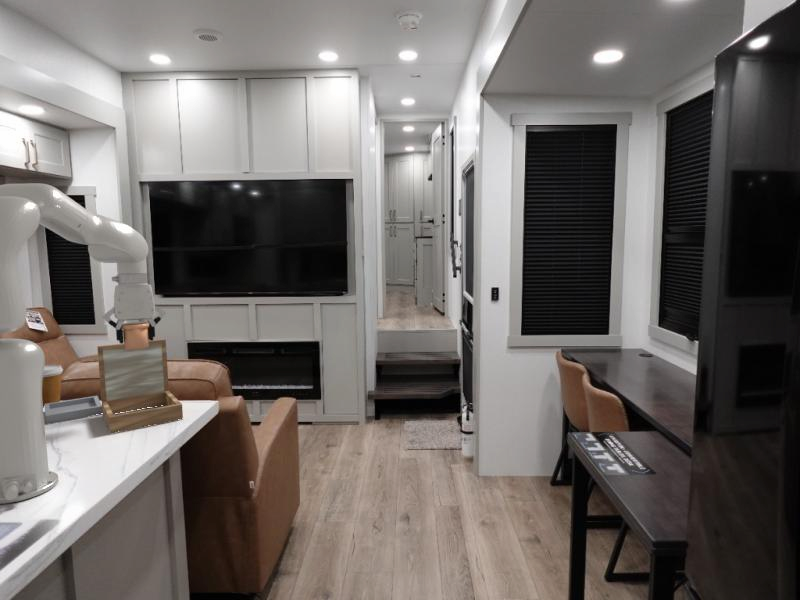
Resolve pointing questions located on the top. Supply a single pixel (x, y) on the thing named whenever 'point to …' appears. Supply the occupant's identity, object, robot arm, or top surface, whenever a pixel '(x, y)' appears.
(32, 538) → the top surface
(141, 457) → the top surface
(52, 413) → the slate tray
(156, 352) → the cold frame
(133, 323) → the terracotta pot
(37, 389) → the robot arm
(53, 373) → the disposable coffee cup
